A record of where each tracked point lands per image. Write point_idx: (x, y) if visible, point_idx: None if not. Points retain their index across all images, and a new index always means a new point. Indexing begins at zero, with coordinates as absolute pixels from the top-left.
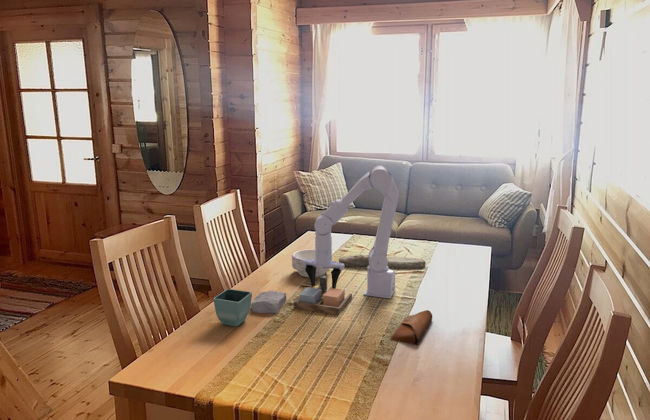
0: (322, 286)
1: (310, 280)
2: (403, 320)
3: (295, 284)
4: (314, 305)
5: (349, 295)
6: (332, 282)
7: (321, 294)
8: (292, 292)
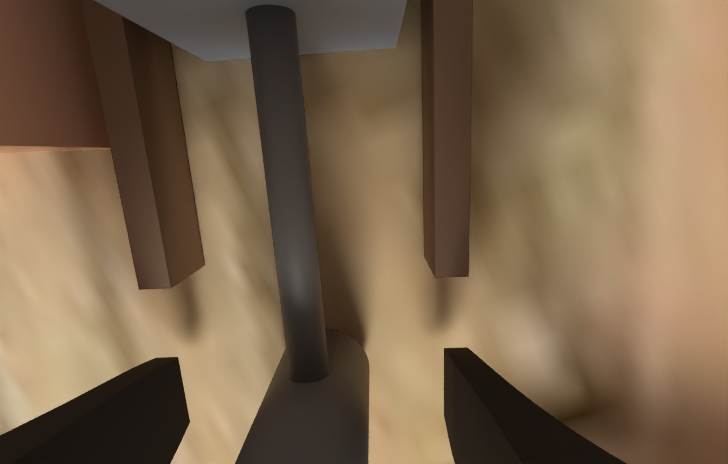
0: (288, 341)
1: (517, 393)
2: None
3: (704, 426)
4: None
5: None
6: (76, 414)
7: (147, 29)
8: (669, 195)
